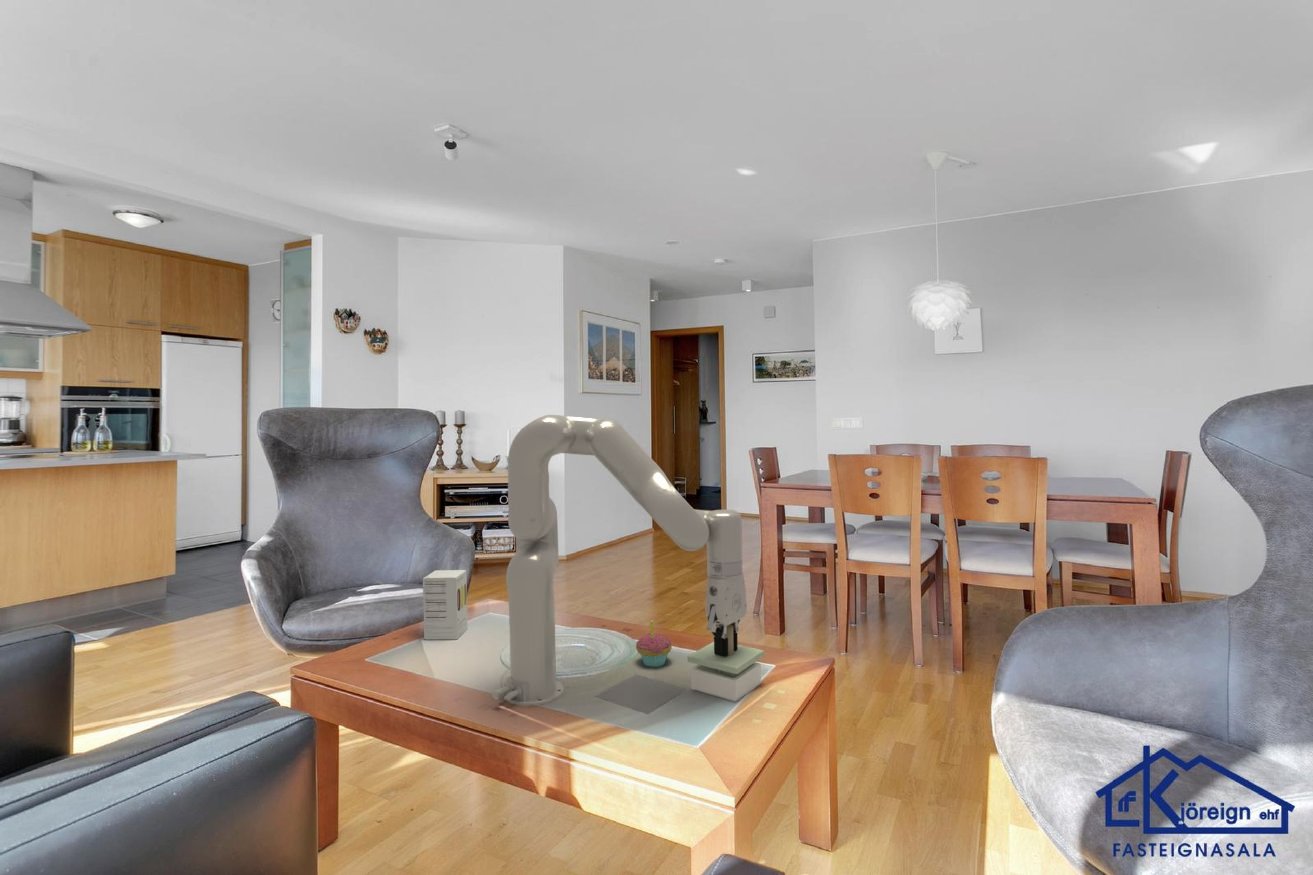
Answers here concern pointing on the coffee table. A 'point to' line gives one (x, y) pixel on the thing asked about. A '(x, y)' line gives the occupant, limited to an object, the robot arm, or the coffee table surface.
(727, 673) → the white square box
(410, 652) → the coffee table surface
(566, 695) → the coffee table surface
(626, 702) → the mat
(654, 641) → the cupcake
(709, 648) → the lid
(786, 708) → the coffee table surface
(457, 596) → the supplement box
